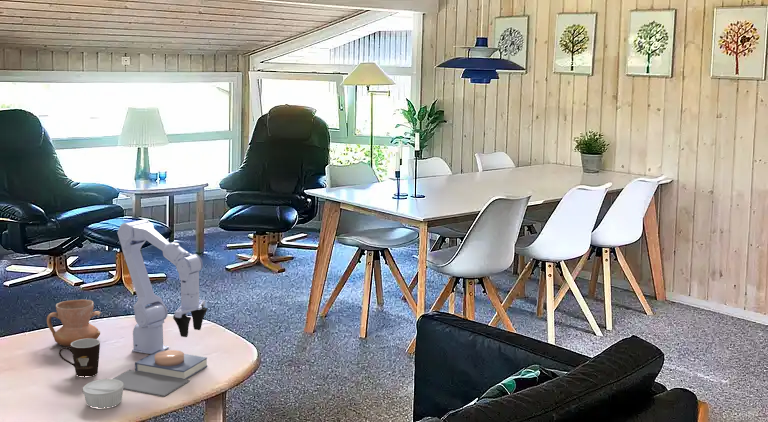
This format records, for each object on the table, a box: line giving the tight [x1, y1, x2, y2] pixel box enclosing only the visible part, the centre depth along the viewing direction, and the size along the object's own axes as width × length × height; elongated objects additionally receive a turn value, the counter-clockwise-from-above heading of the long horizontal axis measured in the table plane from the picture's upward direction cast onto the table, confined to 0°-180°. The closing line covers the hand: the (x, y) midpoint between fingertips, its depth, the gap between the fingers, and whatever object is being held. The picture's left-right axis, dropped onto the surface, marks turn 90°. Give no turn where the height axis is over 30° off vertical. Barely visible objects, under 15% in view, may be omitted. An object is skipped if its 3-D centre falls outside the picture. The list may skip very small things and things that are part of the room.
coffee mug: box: [58, 338, 101, 377], centre depth 269 cm, size 12×9×10 cm
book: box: [134, 350, 208, 380], centre depth 274 cm, size 18×13×3 cm
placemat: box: [112, 369, 190, 397], centre depth 262 cm, size 22×13×1 cm, turn 69°
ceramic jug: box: [46, 299, 102, 348], centre depth 295 cm, size 18×14×14 cm
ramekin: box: [82, 378, 124, 408], centre depth 247 cm, size 11×11×5 cm
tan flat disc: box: [155, 349, 185, 366], centre depth 272 cm, size 9×9×2 cm
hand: (190, 333), depth 280 cm, fingers open, 7 cm apart
